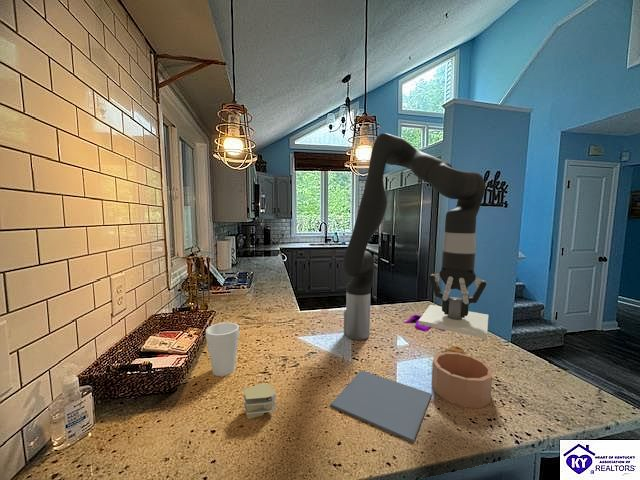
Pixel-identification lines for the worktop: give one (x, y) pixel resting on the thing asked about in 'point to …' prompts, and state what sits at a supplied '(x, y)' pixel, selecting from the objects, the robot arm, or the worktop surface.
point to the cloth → (420, 327)
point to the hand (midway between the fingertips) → (454, 314)
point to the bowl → (462, 379)
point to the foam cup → (222, 347)
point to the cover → (455, 319)
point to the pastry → (455, 349)
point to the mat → (384, 404)
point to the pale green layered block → (259, 400)
